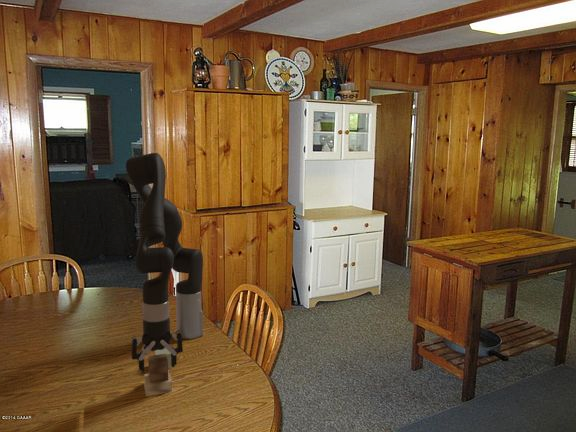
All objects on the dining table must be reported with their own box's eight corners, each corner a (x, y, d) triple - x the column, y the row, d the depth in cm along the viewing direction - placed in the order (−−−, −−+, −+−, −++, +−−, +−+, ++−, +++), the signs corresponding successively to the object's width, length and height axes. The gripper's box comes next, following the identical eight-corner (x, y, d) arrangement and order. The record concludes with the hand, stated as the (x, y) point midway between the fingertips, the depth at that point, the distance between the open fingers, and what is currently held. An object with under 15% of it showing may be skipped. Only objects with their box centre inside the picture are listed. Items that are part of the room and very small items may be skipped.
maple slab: (168, 379, 147) (168, 370, 147) (172, 391, 141) (171, 381, 140) (144, 383, 145) (144, 374, 144) (147, 395, 138) (146, 385, 138)
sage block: (169, 365, 159) (168, 348, 158) (171, 371, 155) (170, 353, 154) (154, 367, 157) (154, 350, 156) (156, 373, 153) (156, 356, 152)
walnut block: (166, 372, 146) (165, 353, 144) (168, 380, 141) (167, 360, 140) (148, 375, 144) (148, 356, 143) (150, 383, 139) (150, 363, 138)
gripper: (179, 308, 145) (180, 359, 148) (129, 314, 140) (131, 366, 143) (183, 317, 138) (184, 370, 141) (131, 323, 133) (133, 378, 136)
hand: (157, 368), depth 142 cm, fingers open, 8 cm apart
